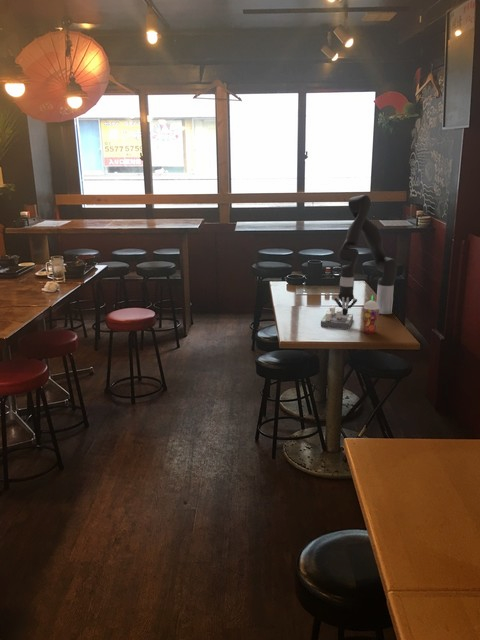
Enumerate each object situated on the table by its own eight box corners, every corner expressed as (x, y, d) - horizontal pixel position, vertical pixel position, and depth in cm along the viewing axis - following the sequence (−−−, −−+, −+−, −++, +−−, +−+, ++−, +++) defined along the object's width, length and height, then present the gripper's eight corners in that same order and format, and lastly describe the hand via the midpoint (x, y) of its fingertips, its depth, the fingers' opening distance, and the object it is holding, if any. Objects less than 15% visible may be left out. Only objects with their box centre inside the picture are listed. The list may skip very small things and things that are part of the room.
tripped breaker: (341, 316, 315) (342, 309, 314) (340, 318, 310) (340, 311, 309) (337, 316, 315) (338, 309, 314) (336, 318, 311) (336, 311, 310)
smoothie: (366, 328, 304) (368, 292, 298) (380, 331, 299) (383, 295, 293) (358, 332, 298) (361, 295, 292) (373, 335, 293) (376, 298, 287)
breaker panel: (352, 319, 321) (353, 314, 320) (348, 329, 303) (348, 323, 302) (326, 317, 325) (327, 312, 324) (320, 326, 307) (320, 321, 306)
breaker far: (334, 312, 322) (335, 306, 321) (333, 315, 318) (333, 308, 316) (330, 312, 323) (331, 305, 322) (329, 314, 318) (329, 307, 317)
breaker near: (331, 318, 310) (331, 311, 309) (329, 321, 306) (330, 314, 305) (327, 318, 311) (327, 311, 310) (325, 320, 306) (325, 313, 305)
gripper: (359, 284, 308) (357, 314, 313) (335, 282, 312) (333, 312, 317) (358, 286, 301) (356, 317, 306) (333, 285, 305) (331, 315, 310)
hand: (344, 314), depth 311 cm, fingers closed
